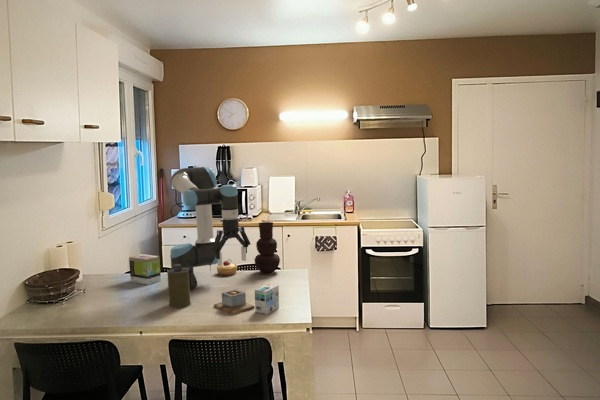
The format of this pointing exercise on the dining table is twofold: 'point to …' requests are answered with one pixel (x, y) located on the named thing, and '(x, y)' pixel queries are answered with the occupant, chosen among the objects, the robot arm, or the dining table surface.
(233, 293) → the wooden base with peg
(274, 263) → the vase
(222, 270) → the pastry
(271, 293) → the light bulb box
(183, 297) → the canister
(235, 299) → the grey hollow block
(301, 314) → the dining table surface
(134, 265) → the tea box
